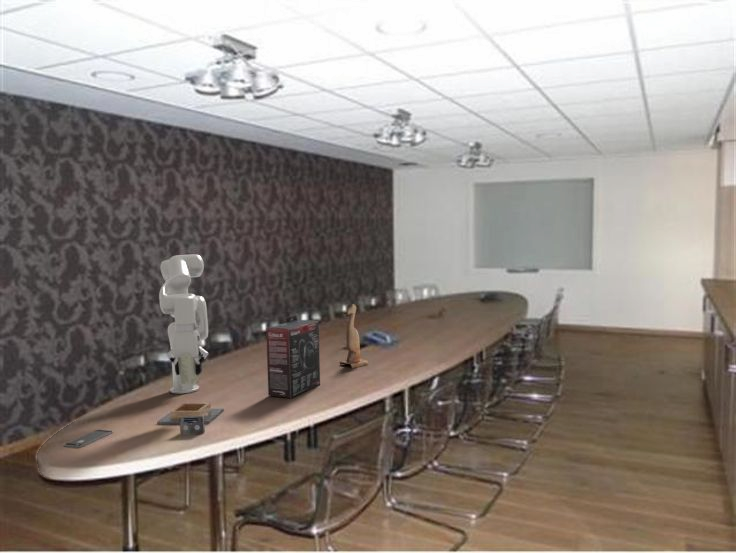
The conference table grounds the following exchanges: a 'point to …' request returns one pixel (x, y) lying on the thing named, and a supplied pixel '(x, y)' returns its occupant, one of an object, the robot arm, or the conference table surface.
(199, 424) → the mini dv tape
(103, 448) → the conference table surface
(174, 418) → the collar socket
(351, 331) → the bird sculpture
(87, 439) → the phone
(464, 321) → the conference table surface
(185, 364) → the skincare box
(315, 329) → the headset box
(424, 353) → the conference table surface
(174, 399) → the conference table surface
